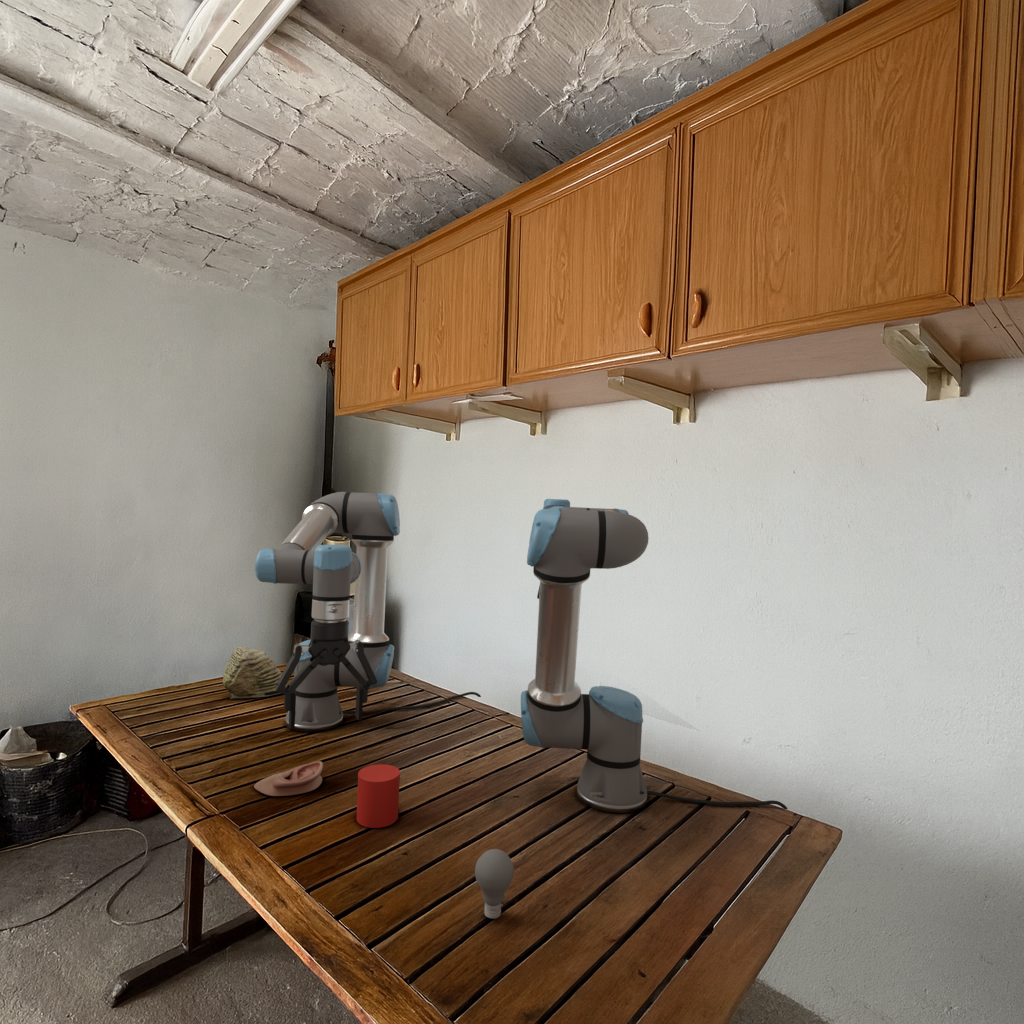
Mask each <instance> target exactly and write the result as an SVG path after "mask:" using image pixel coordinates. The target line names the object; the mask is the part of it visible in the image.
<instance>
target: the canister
mask: <svg viewBox="0 0 1024 1024" xmlns="http://www.w3.org/2000/svg"><path fill="white" fill-rule="evenodd" d="M400 775H401V770H400V769H399V768H398V767H396V766H394V765H391V764H386V763H385V764H384V763H380V764H379V763H377V764H370V765H367V766H365V767H363V768H361V769H360V770H358V773H357V794H356V795H357V796H356V822H357V823H358V824H359V825H360V826H362V827H365V828H370V829H380V828H385V827H389V826H390V825H393V824H395V822H397V820H398V819H399V804H400V780H401V779H400V778H401V777H400Z"/></svg>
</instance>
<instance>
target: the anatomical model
mask: <svg viewBox="0 0 1024 1024" xmlns="http://www.w3.org/2000/svg"><path fill="white" fill-rule="evenodd" d="M323 768H324V763H323V761H321V760H318V761H312V762H309V763H306V764H303V765H299V766H297V767H294V768H291V769H288V770H286V771H283V772H278V773H275V774H272V775H269V776H267V777H265V778H263V779H260V780H259V781H257V782H256V783H255V784H254V785H253V788H254V789H255V790H256V791H257V792H259V793H261V794H264V795H266V796H268V797H269V796H270V797H284V796H295V795H301V794H305V793H308V792H312V791H315V790H316V789H317V788H319V787H320V786H321V784H322V783H323V777H322V775H321V774H322V771H323Z"/></svg>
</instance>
